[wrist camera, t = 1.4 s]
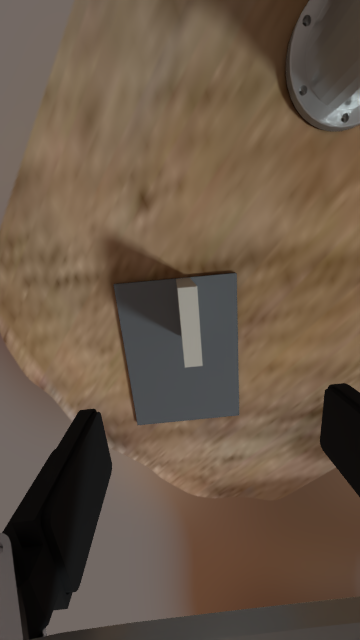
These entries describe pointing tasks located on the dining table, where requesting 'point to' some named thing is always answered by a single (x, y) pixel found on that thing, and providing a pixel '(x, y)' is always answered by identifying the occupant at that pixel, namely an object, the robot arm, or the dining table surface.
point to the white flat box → (189, 322)
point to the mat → (180, 350)
